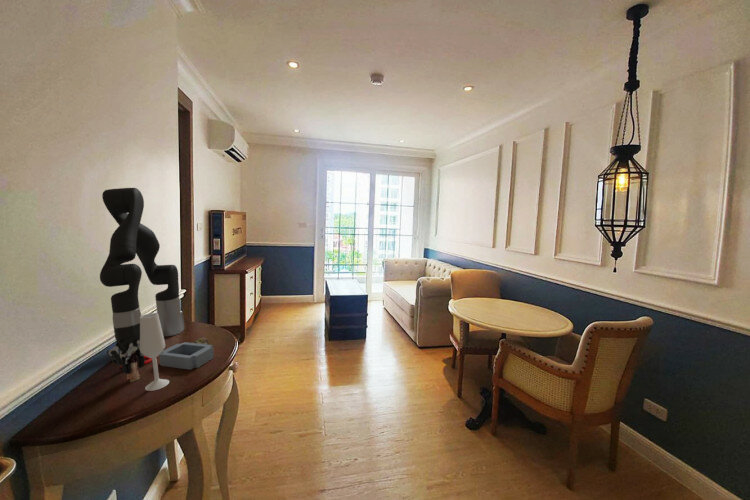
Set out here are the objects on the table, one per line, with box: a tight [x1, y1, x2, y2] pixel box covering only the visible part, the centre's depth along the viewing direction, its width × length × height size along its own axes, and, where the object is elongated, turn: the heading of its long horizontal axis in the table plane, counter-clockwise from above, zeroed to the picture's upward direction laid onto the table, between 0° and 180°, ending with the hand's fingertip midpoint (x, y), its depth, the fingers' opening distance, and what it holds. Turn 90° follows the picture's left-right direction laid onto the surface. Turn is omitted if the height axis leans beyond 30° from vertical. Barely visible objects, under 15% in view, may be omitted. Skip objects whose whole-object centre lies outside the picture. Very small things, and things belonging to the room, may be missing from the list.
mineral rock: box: [192, 337, 209, 345], centre depth 129 cm, size 11×4×8 cm
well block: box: [158, 341, 215, 371], centre depth 117 cm, size 11×17×4 cm, turn 75°
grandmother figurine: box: [126, 347, 141, 383], centre depth 104 cm, size 8×4×13 cm, turn 47°
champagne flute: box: [140, 312, 170, 392], centre depth 99 cm, size 7×7×24 cm
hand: (134, 369), depth 104 cm, fingers closed on grandmother figurine, 3 cm apart
